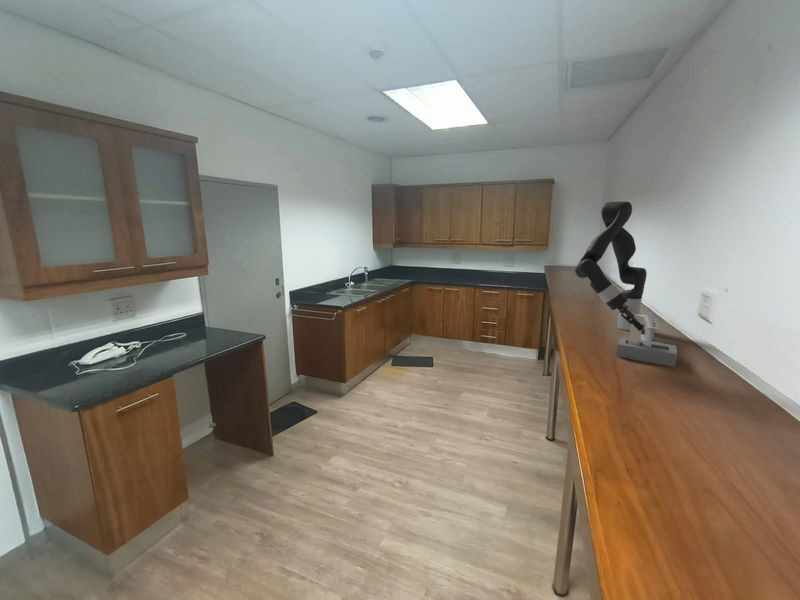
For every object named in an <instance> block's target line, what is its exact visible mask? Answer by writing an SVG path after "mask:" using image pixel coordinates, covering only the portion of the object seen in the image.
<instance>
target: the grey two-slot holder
mask: <svg viewBox="0 0 800 600" xmlns="http://www.w3.org/2000/svg"><path fill="white" fill-rule="evenodd" d="M628 340H629V337H624V336H620V337H619V341H618V342H617V348H616V354H615V355H616V356H615V357H618V358H622V357H623V358H624V359H627V358H628V359H629V360H634V361H638V362H644V363H648V364H649V363H651V364H654V363H655V364H656V365H660V364H661V366H665V365H666V366H667V367H670V366H671V368H676V365H677V363H676V362H677V358H678V357H677V356H678V350H677V345H675V344H669V343H668V344H667V343H662V342H656V341H653V342H650V341H644V340H641V339H640V344H639V345H633V344H628ZM628 359H627V360H628Z"/></svg>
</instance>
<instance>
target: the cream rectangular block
mask: <svg viewBox="0 0 800 600" xmlns="http://www.w3.org/2000/svg"><path fill="white" fill-rule="evenodd" d="M634 315H635V316H634V317H635V318H636V319H637V320H638V322H639V323H640V324H641V325H644V319H645V318H644V315H645V314H634ZM632 320H633V319H632ZM642 330H643V329H642ZM642 330H641V331H639V330H638V329H637V328H636V327H635V326H634V325H633V324H631V327H630V331H629V334H628V338H629V340H628V344H633V345H639V344H640V340H641V334H642Z"/></svg>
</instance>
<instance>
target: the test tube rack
mask: <svg viewBox="0 0 800 600" xmlns="http://www.w3.org/2000/svg"><path fill="white" fill-rule="evenodd" d="M643 315H644V318H643V319H644V320H645V328H644V329H645V330H644V334H643V333H641V337H640V340H644V341H650V342H654V339H655V337H654V336H655V330H656V331H657V330H659V331H660V330H661V328H660V326H659V324H658V322H657V319H656V316H655V315H653V312H651V311H648V313H647V314H643Z"/></svg>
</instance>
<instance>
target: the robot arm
mask: <svg viewBox="0 0 800 600" xmlns="http://www.w3.org/2000/svg"><path fill="white" fill-rule="evenodd" d="M600 213H601V218H602V221H603V223H604V226H605V229H603V230H602V231H601V232H599V233H598V234H597V235H596V236H595V237H594V238H593V239H592V240H591V242H590V243H589V245H588V247H587V249H586V251H585V253H584V255H583V256H582V257H581V259H580V260H579V261H578V263H577V265H576V266H575V271H574V273H575V274H576V276H577V277H578V278H581V279H586V278H588V279H589V281H590V284H589V285H590V286H591V288H592V290H593V291H595V292H596V294H597V295H598V296H599V298H600V299H601V300H602V301H603V302H604V303H605V304H606V305H607V306H608V308H609V309H611V311H615V310H617V309H618V317H617V325H616V328H618V329H619V330H623V331H629V332H630V327H631V324H633V325H634V326H635V327H636V328H637V329H638V330H639V331H641V330H644V329H645V324H643V325H641V324H640V323H639V322H638V320H637V319H636V318H635V317H634V316H635V315H634V314H639V315H641V314H640V313H641V307H642V301H643V300H642V299H643V294H644V289H645V285H646V280H647V275H648V273H647V269H646V268H644V267H637V266H636V267H634V266H630V265H629V261H630V260H631V258H633V256H635V255H634V254H635V252H636V250H637V247H636V243H635V239H634V237H633V235H632V234H631V233H630V232H629V231H628V230H627V229H626V228H624V226H625V225H626V223H627V222H628V220H629V219H630V217H631V215H632V213H633V205H632V203H631V202H629V201H608V202H605V203H604V204H603V206H602V207H601V211H600ZM610 244H611V247H612V249H613V252H614V255H615V259H616V262H617V266H618V274H619V279H620V282H621V283H622V284H626V285H631V286H632V285H633V288H631V289H626V290H622V291H621V290H620V289H619V288H618V287H617V286H615V285H614V284H613V283H612V282H611V281H610V280H609V279H608V278H607V277H606V275H605V274H604V272H603V270H602V268H601V267H600V266H599V264H598V262H599V261H600V260H601V259H602V257H603V256H604V254H605V253H606V251H607V249H608V247H609V246H610ZM632 319H633V320H632ZM641 332H642V331H641Z"/></svg>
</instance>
